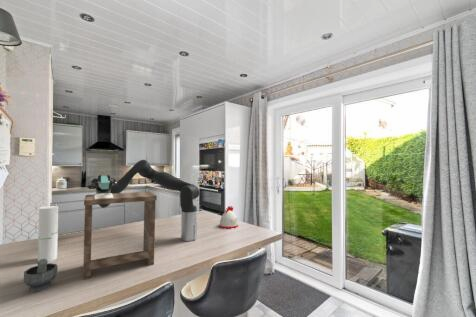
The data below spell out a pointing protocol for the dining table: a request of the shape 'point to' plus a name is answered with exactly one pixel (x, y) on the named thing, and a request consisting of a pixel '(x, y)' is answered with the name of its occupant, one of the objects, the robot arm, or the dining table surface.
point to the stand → (148, 229)
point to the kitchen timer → (228, 219)
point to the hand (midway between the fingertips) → (104, 176)
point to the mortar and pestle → (40, 275)
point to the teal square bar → (104, 182)
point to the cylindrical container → (48, 233)
